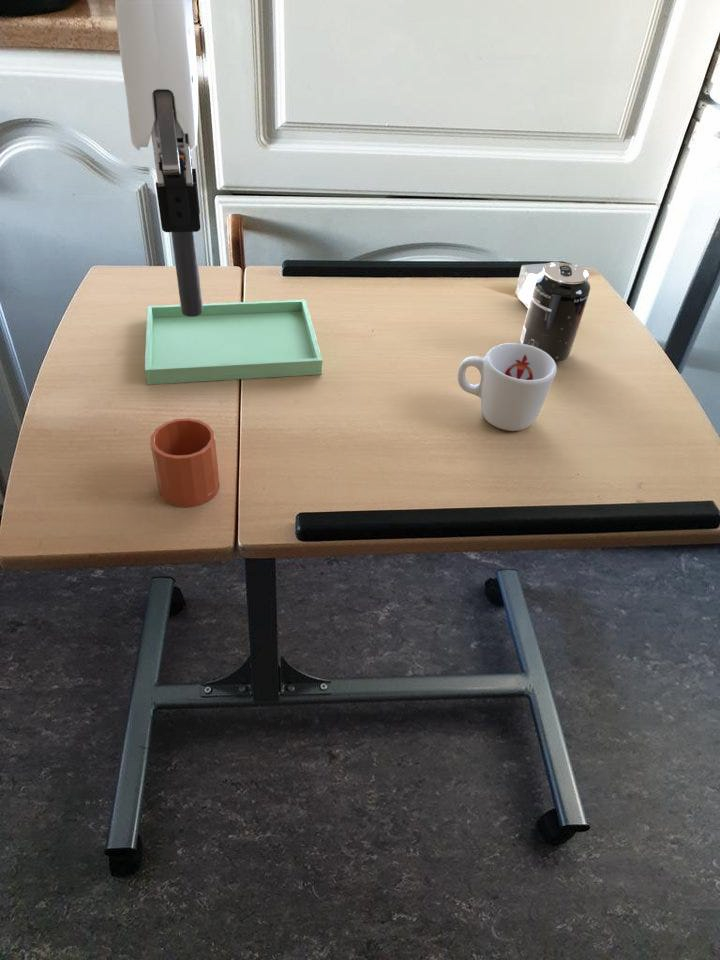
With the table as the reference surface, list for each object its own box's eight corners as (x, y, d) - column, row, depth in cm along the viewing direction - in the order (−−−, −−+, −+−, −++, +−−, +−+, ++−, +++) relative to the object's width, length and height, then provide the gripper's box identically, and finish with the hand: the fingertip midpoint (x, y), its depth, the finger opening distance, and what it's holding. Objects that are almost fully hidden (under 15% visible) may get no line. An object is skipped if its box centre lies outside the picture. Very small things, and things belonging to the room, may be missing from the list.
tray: (146, 384, 84) (144, 370, 83) (149, 319, 95) (147, 305, 94) (322, 374, 88) (322, 360, 87) (305, 313, 99) (305, 299, 97)
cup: (442, 420, 83) (453, 363, 77) (461, 385, 88) (472, 329, 83) (532, 446, 80) (550, 389, 75) (546, 408, 86) (563, 352, 80)
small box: (547, 291, 108) (555, 261, 105) (564, 309, 104) (573, 279, 101) (513, 293, 107) (520, 263, 104) (529, 312, 103) (537, 281, 100)
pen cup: (159, 510, 69) (150, 460, 65) (159, 469, 74) (151, 420, 69) (220, 504, 70) (216, 455, 66) (217, 464, 75) (213, 416, 70)
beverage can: (566, 344, 97) (591, 263, 89) (570, 372, 92) (596, 288, 84) (517, 338, 98) (537, 256, 89) (517, 364, 93) (539, 280, 84)
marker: (180, 318, 66) (160, 163, 57) (180, 306, 68) (160, 154, 58) (204, 317, 66) (188, 163, 57) (203, 305, 68) (188, 154, 58)
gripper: (103, -56, 54) (141, 188, 66) (82, -19, 42) (132, 267, 55) (204, -51, 55) (221, 187, 68) (209, -14, 44) (229, 264, 56)
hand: (181, 221), depth 61 cm, fingers closed on marker, 2 cm apart
